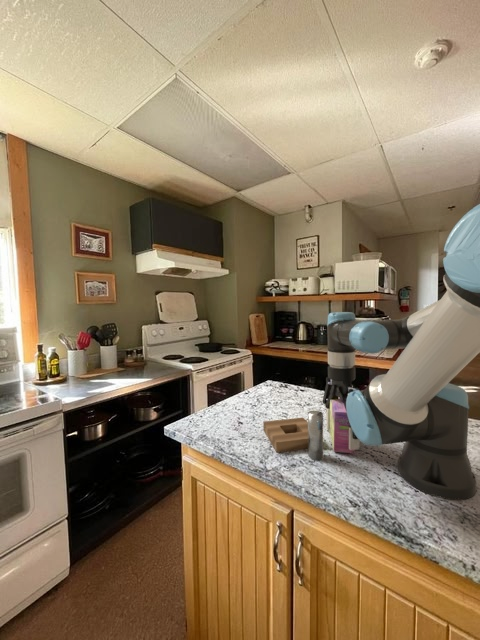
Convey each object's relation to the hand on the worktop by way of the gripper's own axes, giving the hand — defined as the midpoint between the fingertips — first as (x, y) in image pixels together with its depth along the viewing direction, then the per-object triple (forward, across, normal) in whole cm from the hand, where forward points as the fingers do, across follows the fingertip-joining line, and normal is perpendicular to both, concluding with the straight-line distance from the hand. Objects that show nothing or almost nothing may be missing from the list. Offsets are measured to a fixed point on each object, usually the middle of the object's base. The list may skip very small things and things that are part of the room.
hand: (341, 438), depth 83 cm
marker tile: (+2, +6, -3) cm, 7 cm away
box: (+2, 0, 0) cm, 2 cm away
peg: (+2, -4, +10) cm, 11 cm away
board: (+2, +7, +13) cm, 15 cm away
